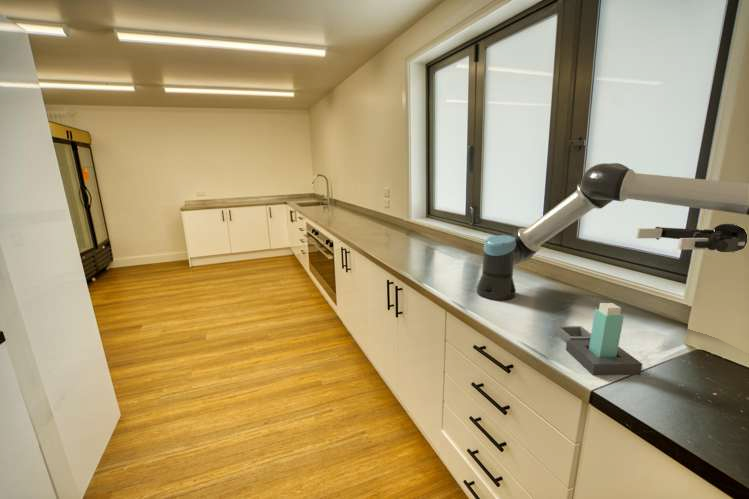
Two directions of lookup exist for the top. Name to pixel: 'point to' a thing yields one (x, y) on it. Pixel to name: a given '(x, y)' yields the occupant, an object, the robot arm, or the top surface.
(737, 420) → the top surface
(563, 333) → the grey square plate
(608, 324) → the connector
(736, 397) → the top surface
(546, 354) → the top surface
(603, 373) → the port block
